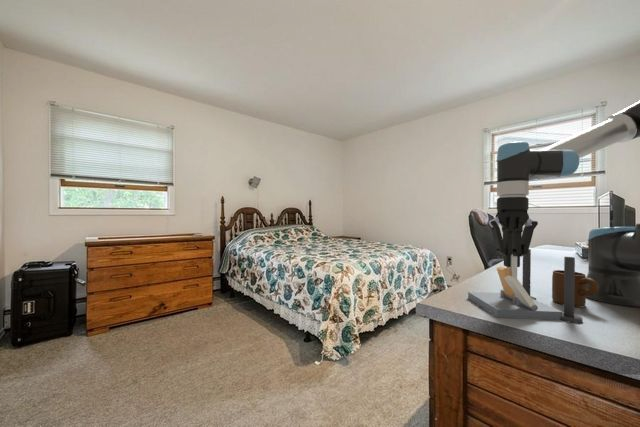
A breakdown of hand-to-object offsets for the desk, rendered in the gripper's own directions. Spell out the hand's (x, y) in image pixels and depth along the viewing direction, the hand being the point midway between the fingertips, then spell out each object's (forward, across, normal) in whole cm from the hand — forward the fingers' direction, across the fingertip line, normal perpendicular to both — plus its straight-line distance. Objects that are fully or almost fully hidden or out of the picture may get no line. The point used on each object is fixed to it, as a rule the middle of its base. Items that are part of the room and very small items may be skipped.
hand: (511, 278), depth 78 cm
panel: (+9, +1, 0) cm, 9 cm away
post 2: (+9, -9, +8) cm, 15 cm away
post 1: (+9, -9, -8) cm, 15 cm away
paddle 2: (+6, 0, +7) cm, 9 cm away
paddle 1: (+6, 0, 0) cm, 6 cm away
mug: (+9, -20, -4) cm, 22 cm away
